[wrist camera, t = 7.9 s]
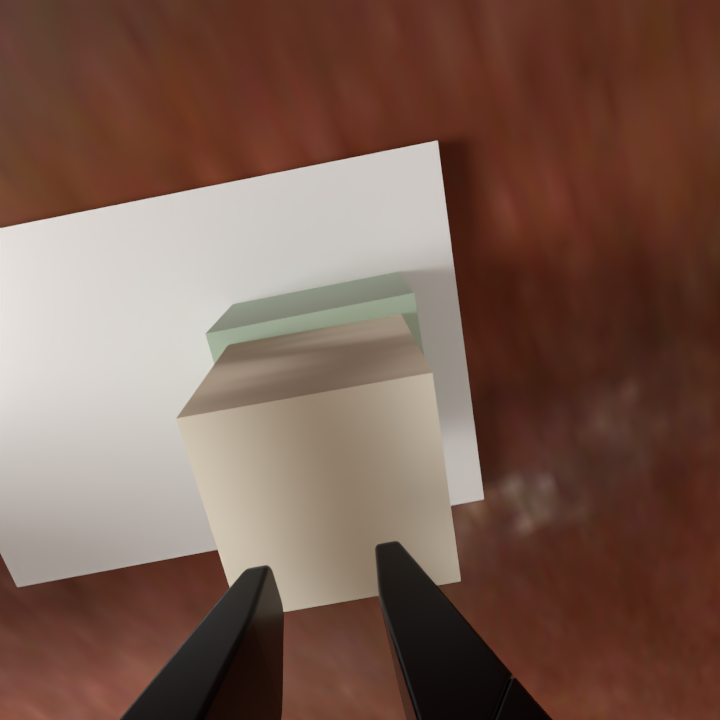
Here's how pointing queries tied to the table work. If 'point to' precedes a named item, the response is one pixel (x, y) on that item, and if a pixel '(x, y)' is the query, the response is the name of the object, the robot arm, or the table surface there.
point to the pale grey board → (189, 343)
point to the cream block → (322, 459)
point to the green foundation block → (316, 311)
